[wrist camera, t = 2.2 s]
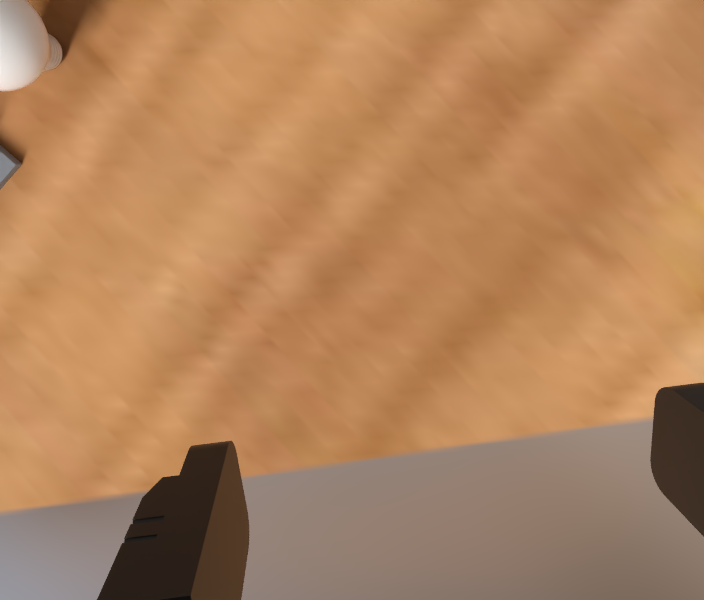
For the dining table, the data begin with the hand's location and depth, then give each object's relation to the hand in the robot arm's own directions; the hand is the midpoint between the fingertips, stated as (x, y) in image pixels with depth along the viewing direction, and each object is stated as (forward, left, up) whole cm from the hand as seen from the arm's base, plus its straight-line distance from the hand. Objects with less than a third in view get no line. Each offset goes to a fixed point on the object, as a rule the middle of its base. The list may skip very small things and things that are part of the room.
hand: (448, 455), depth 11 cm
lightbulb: (-13, -21, -39) cm, 46 cm away
